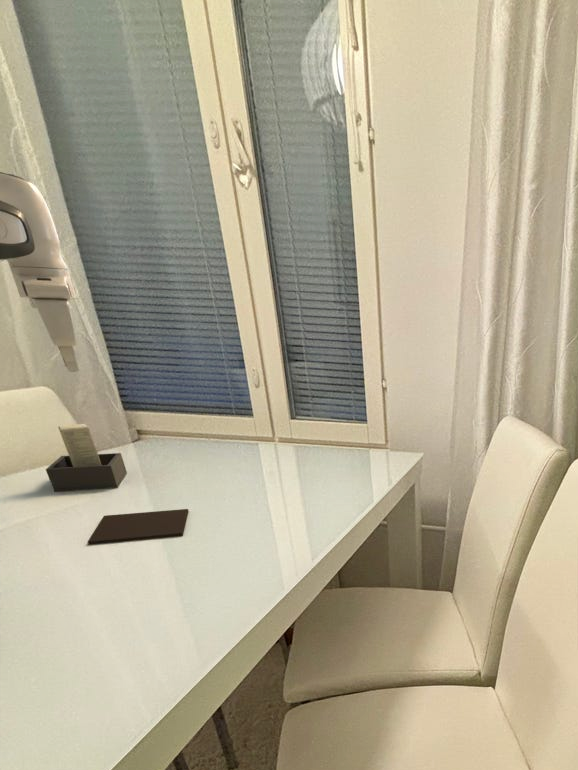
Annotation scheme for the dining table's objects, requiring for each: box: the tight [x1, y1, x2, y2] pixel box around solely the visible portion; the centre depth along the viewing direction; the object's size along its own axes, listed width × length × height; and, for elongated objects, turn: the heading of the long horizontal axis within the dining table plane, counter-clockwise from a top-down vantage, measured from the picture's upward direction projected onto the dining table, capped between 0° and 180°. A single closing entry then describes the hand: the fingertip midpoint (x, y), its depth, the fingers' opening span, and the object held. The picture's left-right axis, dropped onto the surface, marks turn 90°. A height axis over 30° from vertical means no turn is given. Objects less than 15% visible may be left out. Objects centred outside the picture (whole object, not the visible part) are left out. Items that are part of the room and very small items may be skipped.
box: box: [57, 423, 102, 467], centre depth 117 cm, size 5×4×11 cm
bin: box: [45, 452, 128, 493], centre depth 119 cm, size 12×13×5 cm
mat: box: [87, 508, 190, 546], centre depth 97 cm, size 14×14×1 cm
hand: (72, 369), depth 109 cm, fingers open, 8 cm apart
